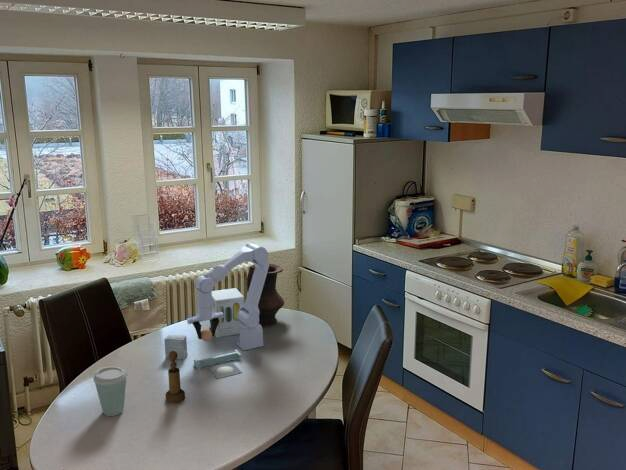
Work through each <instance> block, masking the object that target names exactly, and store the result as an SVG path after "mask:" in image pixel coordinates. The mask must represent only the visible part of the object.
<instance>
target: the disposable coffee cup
mask: <svg viewBox="0 0 626 470" xmlns="http://www.w3.org/2000/svg"><path fill="white" fill-rule="evenodd" d="M127 376H128V374H127V371H126V370H125V369H124V368H122V367H121V366H117V365H115V366H113V365H111V366H109V365H108V366H103V367H100V368H97V369H96V370H95V372H94V376H93V382H94V385H95V388H96V391H97V396H98V399H99V402H100V406H101V409H102V412H103V414H104V415H105V416H107V417H115V416H118V415H120V414H122V412H123V410H124V408H125V399H126V398H125V397H126V386H127Z"/></svg>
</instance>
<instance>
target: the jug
mask: <svg viewBox="0 0 626 470" xmlns="http://www.w3.org/2000/svg"><path fill="white" fill-rule="evenodd" d="M254 270H255V265H254V264H251V265H250V266H249V267H248V273H247V276H246V289H247V290H246V293H247V294H248V291H249V287H250V284H251V280H252V277H253V273H254ZM283 270H284V269H283V267H282V266H280V265H277V264H273V263H269V268H268V272H267V275H266V279H265V282H264V286H263V289H262V293H261V296H260V299H259V303H258V308H259V312H260V313H259V323H258V324H260V325H261V326H262V327H272V326H274V325H276V324H277V322H278V319H277V318H276V314H277V313H278V312H279V311H280V310H281V309H282V308H283V306H285V300H284V298H283V297H282V296H281V294H280V293H279V292H278V291H277V287H276V286H277V280H278V279H277V278H278V274H279V273H282V272H283ZM245 301H246V299H244V303H245Z"/></svg>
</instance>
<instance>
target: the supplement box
mask: <svg viewBox="0 0 626 470" xmlns="http://www.w3.org/2000/svg"><path fill="white" fill-rule="evenodd" d="M244 302H245V296H244V295H243V294H242V293H241V292H240V291H239V290H238V289H237V288H236V287H235V288H234V287H233V288H226V289H220V290H219V289H218V290H212V313H218V312H222V313H223V318H218V319H219V324H218V326H217V328H216V331H215V336H214V337H216V338H221V337H227V336H234V335H240V329H239V321H238V320H237V317H236V315H237V312H238V311H239V309H240V308H241V305H242V304H243V303H244ZM209 328H210V329H211V323H210V322H209Z"/></svg>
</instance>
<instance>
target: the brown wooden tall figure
mask: <svg viewBox="0 0 626 470" xmlns="http://www.w3.org/2000/svg"><path fill="white" fill-rule="evenodd" d="M177 356H178V355H177V353H176V352H175V351H171V352H170V353H169V358H168V360H170V363H169V366H170V368H169V369H168V370H167V374H168V390H167V391H166V392H165V401H166V402H167V404H172V405H174V404H175V405H176V404H180V403H182V402H183V401H185V399H186V392H185V390H184V389H182V388H181V370H180V368H179V367H177V365H178V364H177V362H176V360H178V359H177Z"/></svg>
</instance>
